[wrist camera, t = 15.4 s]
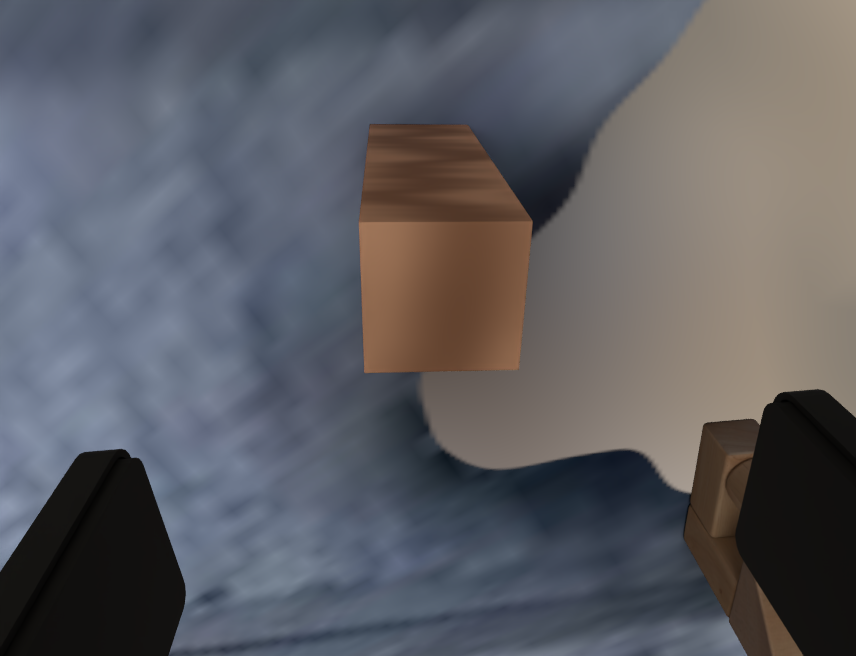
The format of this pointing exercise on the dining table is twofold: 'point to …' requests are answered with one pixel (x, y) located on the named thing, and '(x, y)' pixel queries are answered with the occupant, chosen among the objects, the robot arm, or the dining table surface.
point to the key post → (439, 253)
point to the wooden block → (731, 536)
